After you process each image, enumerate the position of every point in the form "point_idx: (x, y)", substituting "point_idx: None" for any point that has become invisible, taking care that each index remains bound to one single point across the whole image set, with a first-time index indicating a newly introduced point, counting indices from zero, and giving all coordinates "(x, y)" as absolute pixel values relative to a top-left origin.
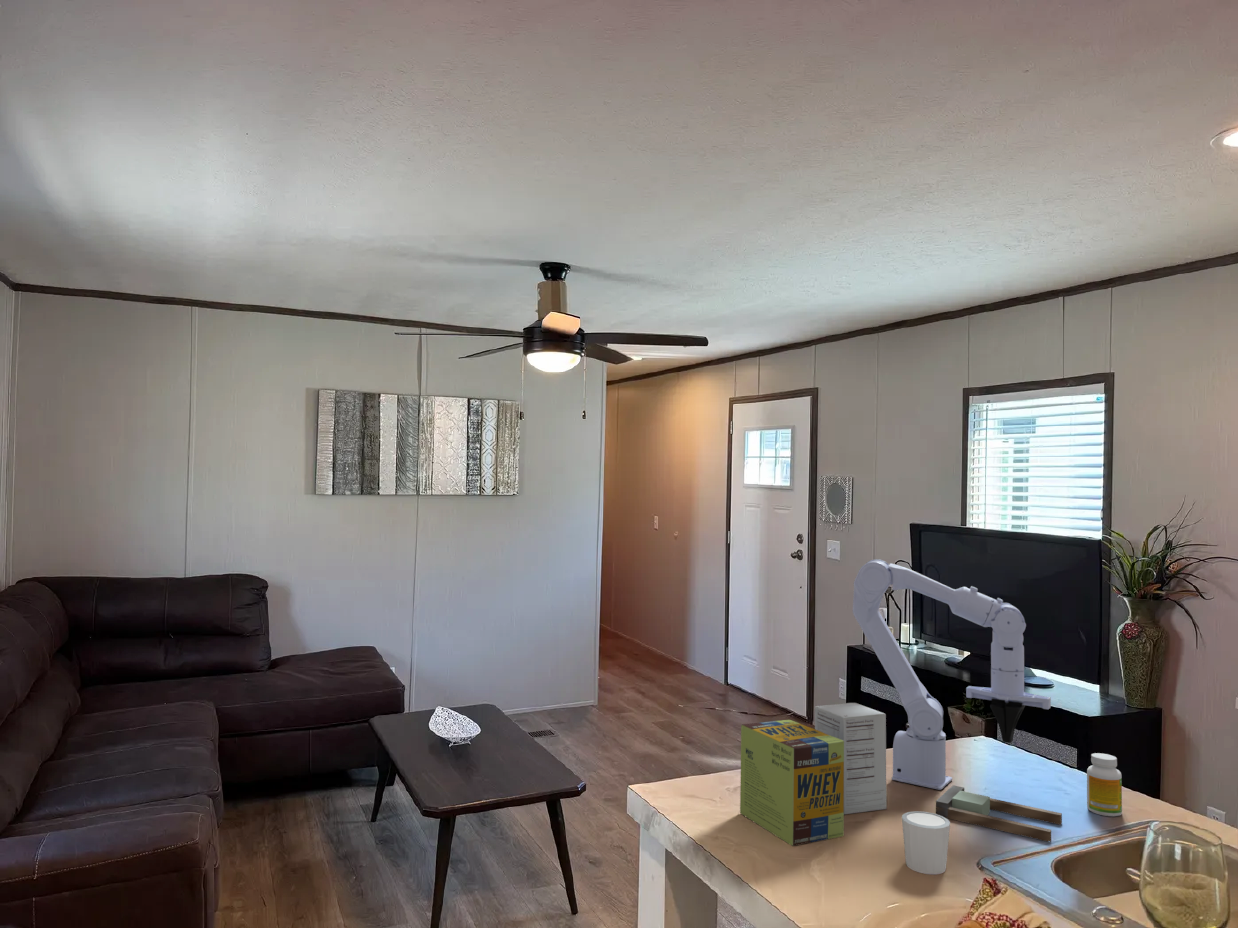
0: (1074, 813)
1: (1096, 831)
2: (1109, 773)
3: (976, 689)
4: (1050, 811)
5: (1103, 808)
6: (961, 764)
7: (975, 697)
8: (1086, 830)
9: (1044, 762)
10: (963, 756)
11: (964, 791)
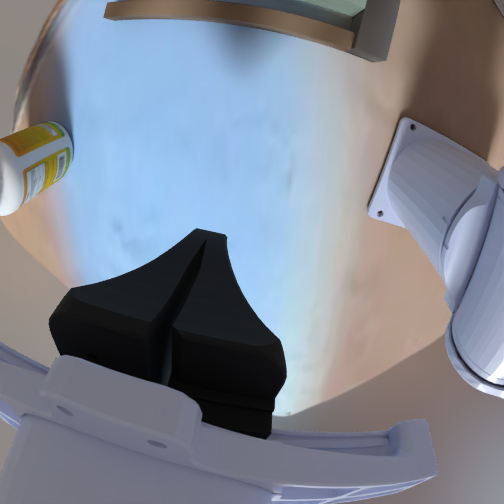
0: (91, 99)
1: (62, 22)
2: None
3: (389, 482)
4: (126, 11)
5: (41, 123)
6: (328, 321)
7: (373, 433)
8: (77, 13)
9: None
10: (317, 358)
11: (353, 2)
